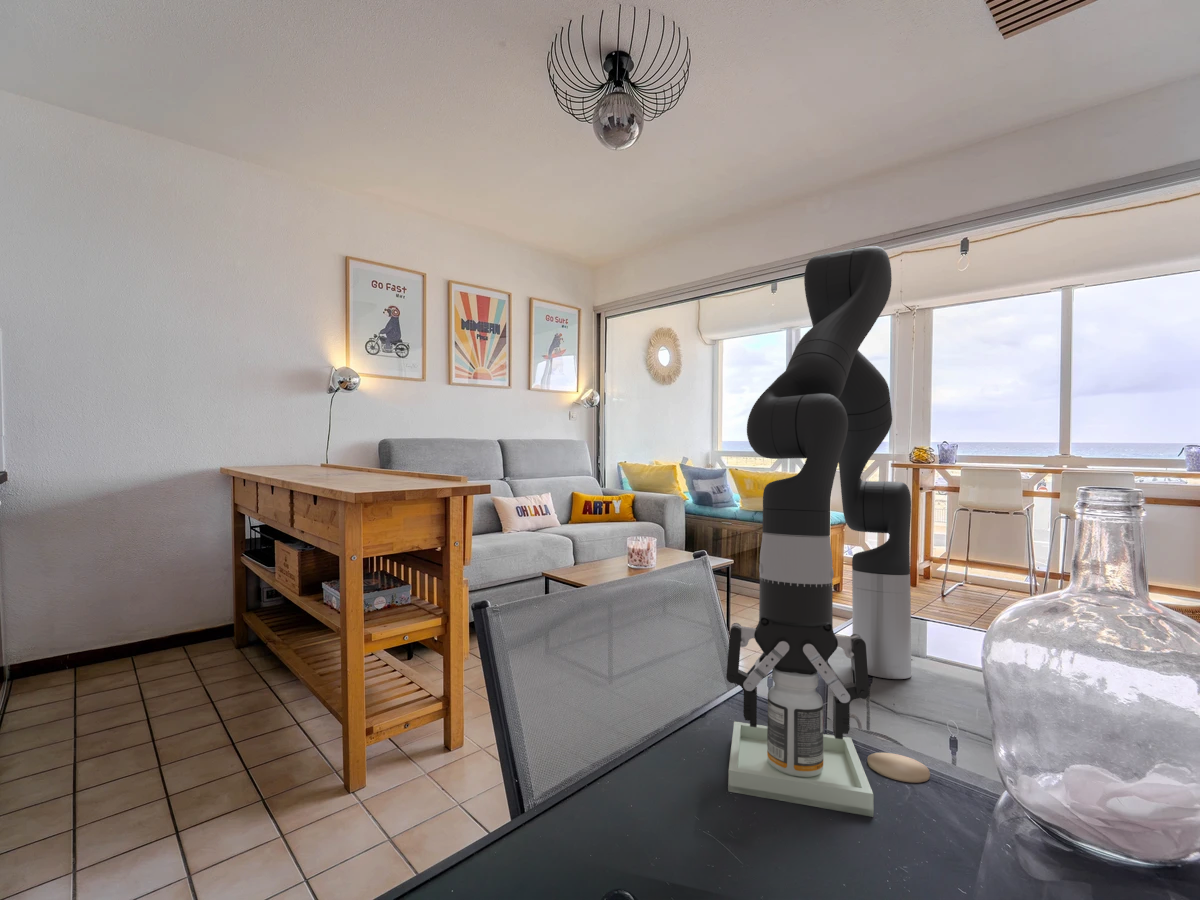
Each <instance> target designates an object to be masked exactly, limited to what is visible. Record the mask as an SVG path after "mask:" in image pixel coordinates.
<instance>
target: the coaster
mask: <svg viewBox="0 0 1200 900" xmlns="http://www.w3.org/2000/svg"><path fill="white" fill-rule="evenodd" d="M867 765H868V767H869V768H870V769H871V770H873V772H876V773H877V774H879V775H881V776H883V777H886V778H888V779H892V780H895V781H899V782H904V783H910V784H911V783H913V784H914V783H917V784H918V783H924V782H927V781H928V780H930V778H931V772H930V769H929V768H928V767H927V766H926V765H925V764H923V763H922V762H920V761H918V760H916V759H914V758H912V757H908V756H906V755H901V754H897V753H891V752H875V753H870V754H869V755H868V756H867Z"/></svg>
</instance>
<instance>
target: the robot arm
mask: <svg viewBox="0 0 1200 900" xmlns="http://www.w3.org/2000/svg"><path fill="white" fill-rule="evenodd" d="M805 266H806V267H805V271H804V274H803V275H804V276H803V277H804V279H803V280H804V281H803V282H804V293H805V298H806V300H805V301H806V305H807V308H808V313H809V316H810V320H811V324H812V327H811V328H810V329H809V330H808V331H807V332H806V333H805V334H804V335H803V336H802V337H801V339H800V340H799V341H798V343H797V344H796V346H795V348H794V351H793V353H792V355H791V357H790V360H789V362H788V364H787V366H786V369H785V371H783V372H782V373H781V374H780V375H779V376H777V378H776V379H775V380H774V381H773V382H772V383H771V384H770V385H769V386H768V387H767V388H766V389H765V390H764V392H763V393H762V394H761V395H760V396H759V397H757V399H756V401H755V402H754V404H753V406H752V408H751V410H750V413H749V415H748V418H747V423H746V435H747V436H746V437H747V440H748V442H749V445H750V447H751V448H752V450H753V451H754V452H755V453H756V454H757V455H758V456H761V457H763V458H765V459H771V460H773V459H775V460H777V459H778V460H780V459H781V460H782V459H783V460H784V459H806V460H805V462H804V464H803V466H802V468H801V470H800V471H799V472H798V473H797V474H795V475H793V476H790V477H786V478H781V479H778V480H777V479H776V480H773V481H771V482H769V483H767V484H766V485H765V486H764V488H763V493H762V495H763V496H762V534H761V535H762V537H761V544H760V551H759V552H760V553H759V565H758V571H759V594H758V595H759V598H758V599H759V603H758V604H759V607H758V608H759V609H758V611H759V612H758V623H757V625H756V627H751V626H750V627H749V626H743V625H741V624H740V623H738V622H734V623H731V626H730V630H729V639H728V650H727V651H728V653H727V665H726V674H725V675H726V680H727V682H729V683H731V684H735V685H738V686H739V687H741V689H742V692H743V711H742V712H743V713H742V714H743V718H744V720H745V721H747V722H748V721H749V724H750V727H756V728H757V725H758V723H757V717H758V715H757V712H758V710H757V709H758V685H759V683H761V681H763V679H764V678H766V677H767V676H768V674H769V673H770V672H772V669H773V668H776V669H777V670H780V671H782V672H790V673H791V672H797V673H800V674H809V675H811V674H814V673H816V672H817V673H818V675H819V676H820V677H821V678H822V680H823V681H824V682H825V684H826V685H827V686H828V687H829V688H830V690H831V691H832V692H833V694H834V695H833V696H832V730H833V731H832V732H833V735H834V736H835V738H836V739H843V737H844V734H845V735H848V734H849V733H850V732H849V731H850V727H851V726H850V720H851V719H850V717H851V716H850V715H851V714H850V710H851V709H850V705H851V703H852V701H854V700H858V699H861V700H862V699H863V700H865V699H866V700H867V699H868V698H869V696H870V683H869V676H872V677H875V678H876V677H877V678H881V679H882V678H883V679H890V680H891V679H892V680H903V679H904V680H905V679H910V678H911V677H912V620H911V619H912V611H911V609H912V602H911V598H912V597H911V596H912V595H911V562H910V560H911V559H910V558H911V556H910V553H911V550H910V548H911V547H910V545H911V544H910V539H911V537H910V535H911V517H912V499H911V496H912V495H911V491H910V489H909V487H908V485H907V484H906V483H905V482H902V481H886V480H885V481H881V480H880V481H876V480H875V481H871V480H869V481H868V480H867V481H866V480H865V481H864V480H863V479H861V477H862V474H863V473H864V472H863V471H864V470H865V467H866V466H867V464H868V463H869V460H870V459H871V457H872V456H873V454H874V453H875V452H876V451H877V449H879V447H880V446H881V444H882V443H883V442H884V440H885V438H886V437H887V436H888V434H889V432H890V430H891V427H892V423H893V415H892V402H891V396H890V392H891V391H890V387H889V384H888V382H887V380H886V378H885V377H884V376H883V375H882V373H881V372H880V371H879V370H878V369H877V367H876V366H875V365H874V364H873V363H872V362H871V361H870V360H869V359H868V358H867V357H866V356H865V355H864V354H863V353H862V352H861V351H859V348H860V347H861V345H862V343H863V342H864V340H865V338H866V337H867V335H868V334H869V333H870V332H871V331H872V329H873V327H874V325H875V324H876V322H877V320H878V319H879V317H880V315H881V314H882V312H883V311H884V309H885V306H886V305H887V303H888V301H889V297H890V294H891V289H892V281H893V279H892V267H891V260H890V256H889V255H888V252H887V251H886V250H885V249H884V248H883V247H880V246H878V245H877V246H876V245H871V246H870V245H869V246H867V245H866V246H860V247H859V246H858V247H856V248H850V249H848V248H847V249H844V250H839V251H833V252H828V253H823V254H818V255H814V256H812V257H811V258H810V259H809V260H808V262H807V263H806V265H805ZM837 469H839V480H840V490H841V491H840V492H841V503H842V513H843V517H844V520H845V523H846V525H847V527H848V528H849V529H851V530H852V531H855V532H860V533H861V532H862V533H875V534H888V536H889V537H888V539H887V540H886V541H885V542H884V543H883V544H881V545H879V546H877V547H874V548H871V549H868V550H863V551H860V552H859V551H858V552H856V553H854V554H853V555H852V559H851V569H852V571H851V573H852V576H851V581H852V582H851V585H852V587H851V588H852V590H851V594H852V600H851V601H852V603H851V604H852V607H851V608H852V611H851V612H852V613H851V614H852V618H851V619H852V634H851V635H850V636H847V635H845V636H844V635H843V636H842V635H836V634H835V632H834V628H833V614H834V613H833V612H834V611H833V608H834V607H833V606H834V605H833V599H834V597H833V592H834V591H833V588H834V587H833V585H834V584H833V583H834V582H833V578H834V573H835V572H834V568H833V553H832V551H833V550H832V545H831V544H832V543H831V536H830V534H831V519H830V518H831V517H830V516H831V512H830V511H831V497H832V490H833V485H834V482H835V481H834V480H835V476H836V474H837V473H836V472H837ZM751 639H754V640H755V642H756V644H757V645H758V646H759V647H760V649H761V651H762V653H761V654H760V656H759V657H758V658H756V660H755V662H754V663H753V664H752V666H751V667H750V669H748V671H747V672H746V671H743V670H742V669H740V655H741V648H745V647H747V646H748V644H749V641H750V640H751ZM837 648H841V649H842V651H843V653H844V655H845V657H846V658H848V659H850V661H851V662H850V663H851V664H850V665H851V679H852V680H851V681H852V682H850V683H849V682H847V683H843V681H842V680H841V678H840V677H839V675H838V674H837V673H836V672H835V670H834V669H833V667H832V665H831V664H830V663H829V662H828V660H829V659H830V657H832V655H833V654H834V653H835V651H836V650H837Z"/></svg>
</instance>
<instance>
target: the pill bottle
mask: <svg viewBox="0 0 1200 900" xmlns="http://www.w3.org/2000/svg"><path fill="white" fill-rule="evenodd" d="M771 672H772V673H771V675H772V676H771V678H772V681H773V682H774V685H772V687H770V688H769V689H768V692H767V726H768V727H767V757H768V761H769V762H770V764H771V765H772V766H773V767H774V768H776V769H777V770H779V771H781V772H783V773H786V774H789V775H792V776H799V777H812V776H816V775H818V774H820V773H821V771H822V770H823V757H824V754H823V734H824V701H823V698H822V696H821V695H820V694H819V692H817V687H818V686H819V672H816V673H814V674H811V675H809V674H800V673H797V672H791V673H790V672H782V671H780V670H777V669H776V668H773V669H772V670H771Z"/></svg>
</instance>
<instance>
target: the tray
mask: <svg viewBox="0 0 1200 900" xmlns="http://www.w3.org/2000/svg"><path fill="white" fill-rule="evenodd" d="M767 727H768V725H761V724H757V728H756V727H750V722H749V723H747V722H741V721H733V730H732V736H731V737H732V738H731V747H730V755H729V763H728V775H727V776H728V780H727V781H728V782H727V784H728V787H727V788H728V789H727V790H728V791H727V792H731V793H734V794H735V793H736V794H740V795H747V796H753V797H758V798H763V799H769V800H776V801H780V802H786V803H791V804H792V803H793V804H797V805H804V806H810V807H815V808H819V809H820V808H821V809H827V810H831V811H838V812H842V813H848V814H849V813H850V814H853V815H854V814H855V815H859V816H865V817H872V818H873V817H874V811H875V810H874V807H875V806H874V791H873V790H872V787H871V785H870V782H869V779H868V777H867V775H866V773H865V769H864V767H863V764H862V761H861V760H860V757H859V754H858V753H857V752H858V751H857V749H856V747H855V745H854V742H853V740H852V737H848V736H847V737H846V736H843V739H836V738H835V736H834V734H826V733H825V734H824V733H823V754H824V757H823V770H822V771H821V773H820V774H818V775H816V776H812V777H799V776H792V775H789V774H786V773H783V772H781V771H779V770H777V769H776V768H774V767H773V766H772V765H771V764H770V762H769V761H768V757H767Z"/></svg>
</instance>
